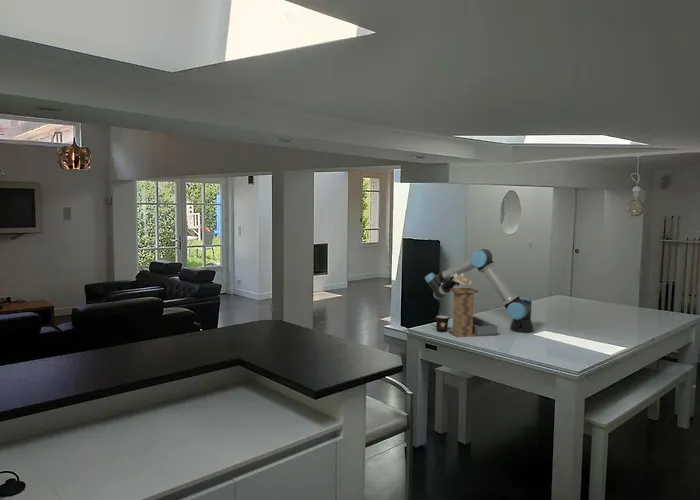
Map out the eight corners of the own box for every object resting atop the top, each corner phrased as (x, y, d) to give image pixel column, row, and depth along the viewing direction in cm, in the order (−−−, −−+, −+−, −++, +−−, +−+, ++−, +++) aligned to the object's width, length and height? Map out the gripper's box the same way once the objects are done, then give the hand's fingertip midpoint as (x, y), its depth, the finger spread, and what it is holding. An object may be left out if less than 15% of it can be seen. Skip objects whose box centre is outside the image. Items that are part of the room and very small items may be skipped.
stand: (467, 331, 359) (469, 287, 357) (476, 336, 347) (477, 290, 345) (448, 332, 355) (449, 288, 353) (456, 337, 344) (458, 291, 341)
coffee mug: (449, 331, 361) (450, 316, 360) (446, 333, 353) (446, 318, 353) (432, 328, 366) (433, 314, 365) (429, 331, 358) (429, 316, 357)
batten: (455, 280, 364) (456, 274, 364) (471, 284, 343) (471, 278, 343) (450, 280, 363) (450, 274, 363) (465, 284, 342) (465, 278, 342)
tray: (473, 324, 382) (473, 316, 382) (497, 335, 351) (497, 326, 351) (455, 325, 378) (456, 317, 378) (477, 336, 348) (478, 327, 347)
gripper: (458, 292, 375) (472, 279, 355) (435, 293, 371) (448, 280, 351) (455, 282, 379) (470, 269, 358) (433, 283, 374) (446, 269, 354)
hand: (459, 274), depth 354 cm, fingers closed on batten, 4 cm apart
